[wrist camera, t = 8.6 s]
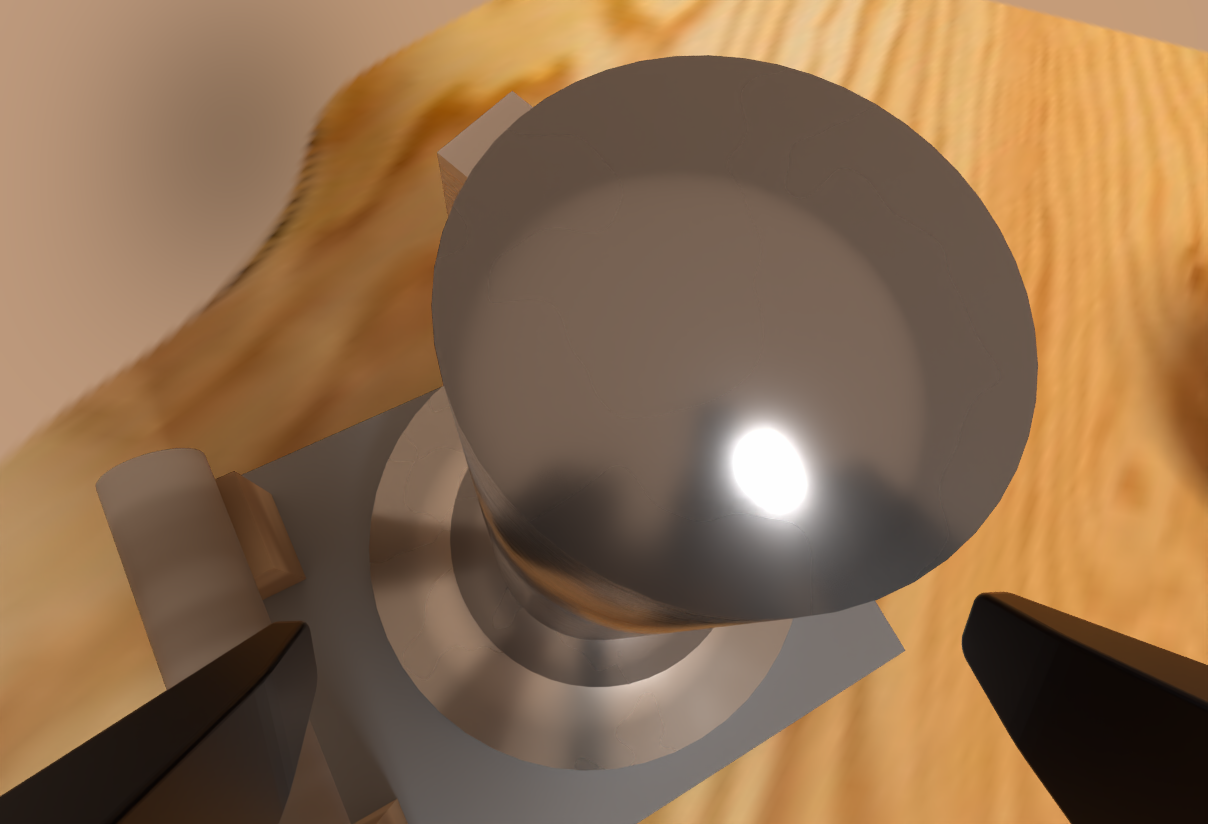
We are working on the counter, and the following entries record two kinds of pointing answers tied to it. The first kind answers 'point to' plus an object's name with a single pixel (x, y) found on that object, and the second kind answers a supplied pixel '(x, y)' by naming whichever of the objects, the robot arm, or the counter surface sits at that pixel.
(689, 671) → the flange disc
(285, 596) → the board
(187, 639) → the bar handle
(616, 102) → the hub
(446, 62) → the counter surface
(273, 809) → the robot arm
